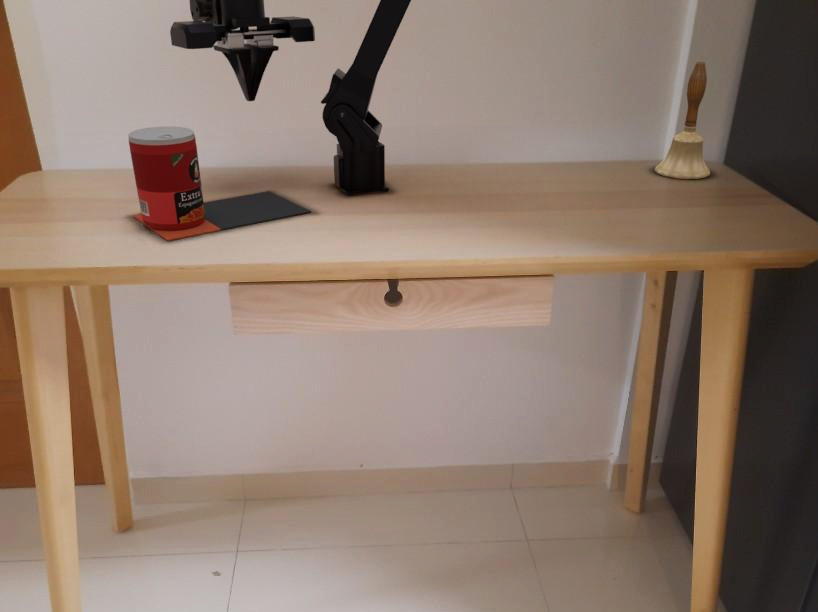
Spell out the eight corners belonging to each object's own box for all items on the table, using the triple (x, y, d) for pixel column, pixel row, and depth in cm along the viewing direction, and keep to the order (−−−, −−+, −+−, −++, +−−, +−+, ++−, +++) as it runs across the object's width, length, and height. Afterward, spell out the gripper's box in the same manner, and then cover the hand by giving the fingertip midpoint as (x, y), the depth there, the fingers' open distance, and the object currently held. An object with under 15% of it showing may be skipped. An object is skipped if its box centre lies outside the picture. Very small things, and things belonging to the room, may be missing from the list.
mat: (269, 192, 112) (269, 191, 111) (311, 212, 103) (311, 211, 103) (183, 207, 105) (183, 206, 105) (221, 230, 97) (221, 228, 97)
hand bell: (682, 182, 117) (703, 67, 108) (643, 169, 123) (660, 60, 115) (721, 175, 120) (745, 63, 112) (681, 163, 126) (701, 57, 118)
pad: (183, 207, 105) (183, 206, 105) (221, 230, 97) (221, 228, 97) (132, 216, 102) (132, 215, 101) (167, 241, 93) (167, 239, 93)
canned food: (190, 233, 95) (177, 140, 89) (131, 229, 97) (114, 137, 91) (216, 215, 101) (205, 127, 96) (159, 211, 103) (146, 124, 97)
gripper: (274, -30, 110) (281, 87, 118) (146, -29, 101) (164, 99, 109) (314, -28, 102) (319, 97, 110) (179, -26, 93) (196, 111, 101)
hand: (250, 100), depth 108 cm, fingers closed
